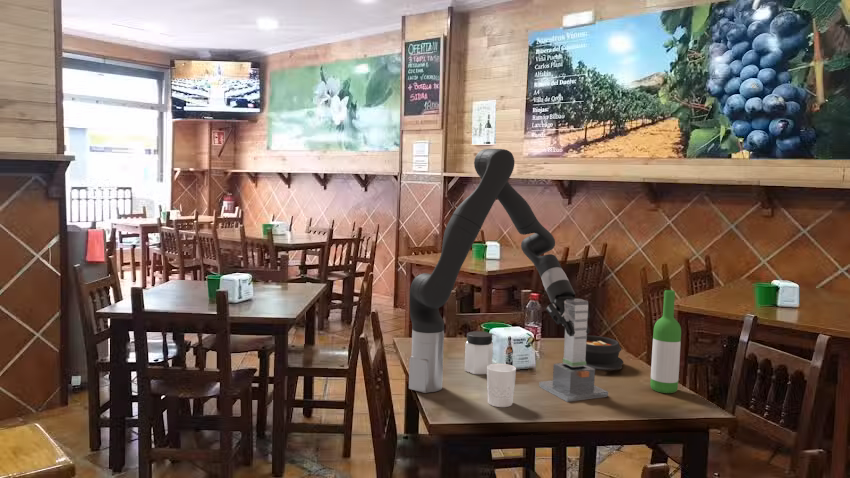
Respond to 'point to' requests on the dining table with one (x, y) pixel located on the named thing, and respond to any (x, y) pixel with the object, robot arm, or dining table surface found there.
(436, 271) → the robot arm
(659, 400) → the dining table surface
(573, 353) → the column
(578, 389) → the stand base
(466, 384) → the dining table surface
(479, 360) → the jar
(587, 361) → the casserole
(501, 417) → the dining table surface
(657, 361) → the wine bottle
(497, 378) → the white cup
